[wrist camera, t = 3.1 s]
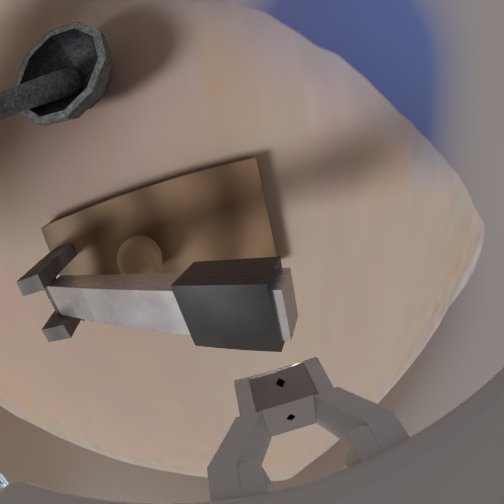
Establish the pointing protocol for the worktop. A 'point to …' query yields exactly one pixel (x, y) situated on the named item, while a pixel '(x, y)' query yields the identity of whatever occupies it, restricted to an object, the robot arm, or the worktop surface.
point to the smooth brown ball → (139, 256)
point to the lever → (192, 302)
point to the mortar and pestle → (60, 76)
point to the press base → (158, 230)
